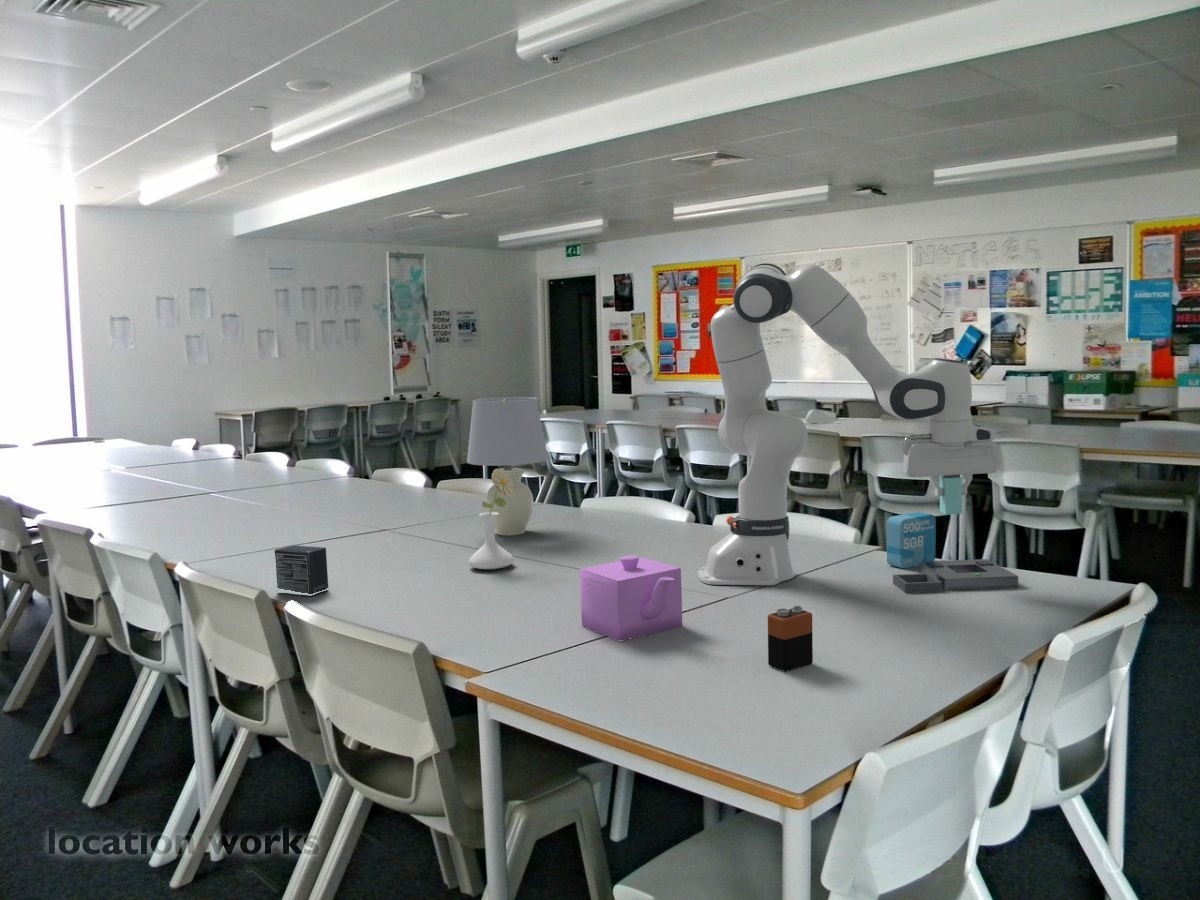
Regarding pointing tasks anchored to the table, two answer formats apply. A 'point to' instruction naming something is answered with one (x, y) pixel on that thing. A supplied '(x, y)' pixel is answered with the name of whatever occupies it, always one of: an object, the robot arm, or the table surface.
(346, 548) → the table surface
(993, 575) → the panel
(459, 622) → the table surface
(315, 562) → the small box
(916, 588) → the tray
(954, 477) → the aqua plug
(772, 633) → the battery
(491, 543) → the flower in vase
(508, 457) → the lamp
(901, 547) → the data package
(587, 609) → the teapot
